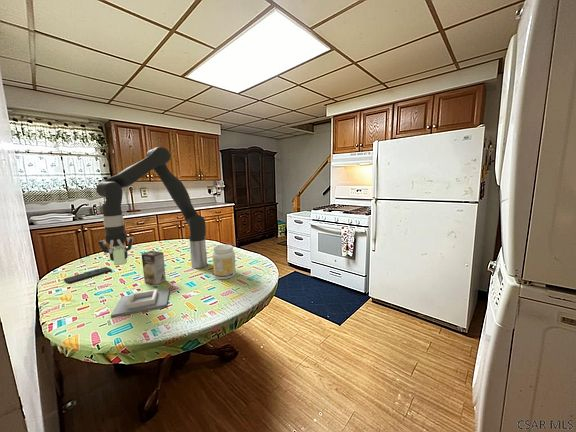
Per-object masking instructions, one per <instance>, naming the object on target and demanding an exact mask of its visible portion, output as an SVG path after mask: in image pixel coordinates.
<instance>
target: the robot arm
mask: <svg viewBox="0 0 576 432" xmlns="http://www.w3.org/2000/svg"><path fill="white" fill-rule="evenodd" d="M169 161H171V153H170V151H169V150H168V149H167V148H166V147H164V146H163V147H162V146H157V147H154V148H152V149H150V150H149V149H148V151H147V152H146V157H145V158H143V159H142V160H140V161H137V162H136V163H134V164H132V165H130V166H128V167H126V168H125V169H123V170H122V171H120V172H118V174H115V175H112V176H111V177H109V178H107V179H104V180H102V181H101V182H99V183H98V184H97V186H96V189H95V190H96V193H97V194H98V195H99V196H101V197H102V198H105V203H103V204H102V207H101V208H102V214H103V215H102V217H103V227H104V233H105V238H104V239H102V240H99V241H98V245H99V246H100V248H101V250H102V252H103V253H105V254H109V259H110V261H112V262H114V258H113V249H114V248H116V247H119V246H120V247H121V248H122V249H124V255H125V259H128V257H129V256H128V255H129V254H128V251H130V250H131V249H132V247H133V244H134V243H133V242H134V237H133V236H132V237H128V236H127V235H126V228H125V220H124V216H123V210H122V202H123V194H124V193H123V188H127V187H130V186H131V185H133V184H135V183H136V182H137V181H140V179H142V177H144V176H145V175H147V174H148V173H150V172H151V171H152V170H154V172H155V173H156V174H157V176H158V177H159V179H160V181H161V182H162V184H163V185H164V187H165V188H166V190H167V192H168V194H169V195H170V197H171V199H172V200H173V202H174V203H175V205H176V206H177V207H178V209H179V210H180V211H181V214H182V215H183V218H184V221H185V223H186V224H187V226H188V227H189V233H190V234H189V239H188V240H189V250H190V261H191V262H190V263H191V268H192V269H202V268H205V267H208V256H207V255H208V254H207V247H206V235H207V232H206V231H207V230H206V228H207V227H206V219H205V218H204V216H203V215H200V214H199V213H198V212H197V210H196V209H195V208H194V206H193V204H192V202H191V198H190V194H189V192H188V190H187V189H186V187H185V185H184V184H183V182H182V181H181V180H180V179H179V178H178V177H177V176H175V175H174V174H173V173H172V172H171V170H170V169H169V167H168V166H167V165H166V164H168V163H169ZM126 241H127V242H128V244H127V245H126V243H125V242H126ZM107 244H108V245H109V247H108V246H107Z"/></svg>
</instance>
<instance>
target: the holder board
mask: <svg viewBox="0 0 576 432" xmlns="http://www.w3.org/2000/svg"><path fill="white" fill-rule="evenodd" d="M169 296H170V288H165V289H158V288H154V289H149V290H144V291H139V292H133V293H131V294H130V295H124V296H121V297H120V298H119V300H118V302H117V303H116V305H115V307H114V309H113V310H112V313H110V318H115V317H121V316H125V315H130V314H137V313H141V312H146V311H152V310H155V309H160V308H167V306H168V300H169Z"/></svg>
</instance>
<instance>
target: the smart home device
mask: <svg viewBox="0 0 576 432" xmlns="http://www.w3.org/2000/svg"><path fill="white" fill-rule="evenodd" d="M112 271H113V269H112V268H110V267H106V266H104V267H101V268H97V269H95V270H91V271H87V272H83V273H79V274H75V275H72V276H69V277H65V278H63V281H64V282H66V283H67V284H69V285H70V284H74V283H76V282H77V283H78V282H81V281H83V280H87V279H90V278H94V277H97V276H100V275H105V274H107V273H110V272H112Z"/></svg>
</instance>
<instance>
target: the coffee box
mask: <svg viewBox="0 0 576 432" xmlns="http://www.w3.org/2000/svg"><path fill="white" fill-rule="evenodd" d="M164 256H165V255H164V252H163V251H155V250H149V251H147V252H144V253H142V254H141V263H142V271H143V272H142V273H143V278H144V283H147V284H152V285H156V286H157V285H159V284H161V283H163V282H165V281H166V279H167V278H166V276H167V275H166V268H165V267H166V266H165V257H164Z"/></svg>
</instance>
